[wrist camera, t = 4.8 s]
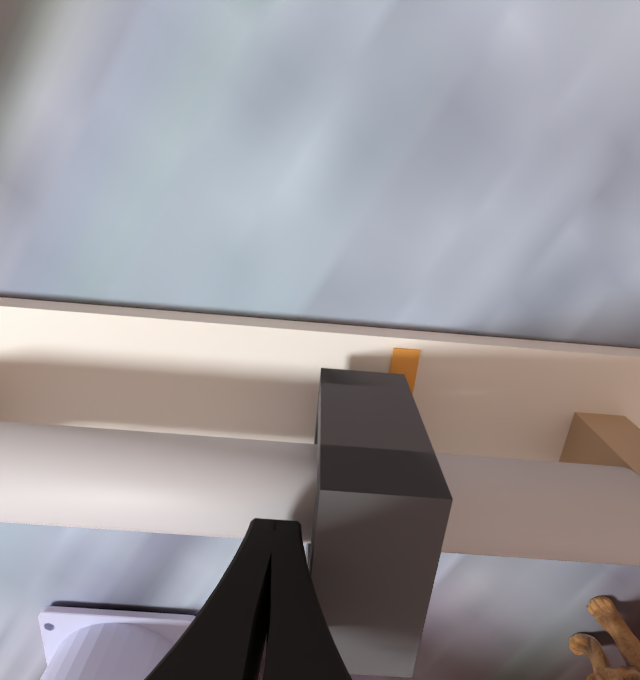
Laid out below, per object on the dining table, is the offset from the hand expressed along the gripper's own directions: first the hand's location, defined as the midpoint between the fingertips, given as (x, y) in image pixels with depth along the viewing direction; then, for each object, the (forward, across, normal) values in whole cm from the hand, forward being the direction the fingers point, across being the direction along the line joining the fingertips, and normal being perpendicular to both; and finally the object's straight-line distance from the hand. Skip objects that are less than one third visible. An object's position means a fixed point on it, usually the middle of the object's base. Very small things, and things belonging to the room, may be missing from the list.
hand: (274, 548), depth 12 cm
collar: (+5, -2, 0) cm, 6 cm away
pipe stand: (+7, 0, 0) cm, 7 cm away
